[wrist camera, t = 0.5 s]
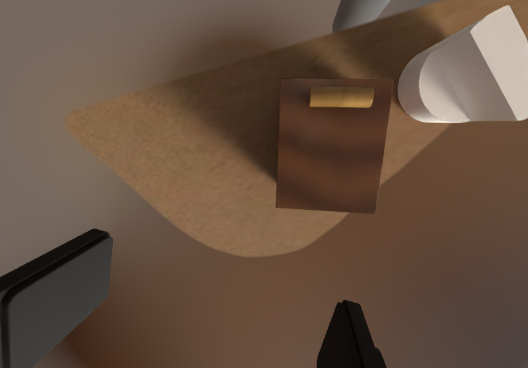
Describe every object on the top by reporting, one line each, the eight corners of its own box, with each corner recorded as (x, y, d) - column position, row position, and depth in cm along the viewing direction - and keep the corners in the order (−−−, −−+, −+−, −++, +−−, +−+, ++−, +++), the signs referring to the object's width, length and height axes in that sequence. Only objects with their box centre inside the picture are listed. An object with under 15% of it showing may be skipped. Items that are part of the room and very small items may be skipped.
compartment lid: (281, 79, 26) (277, 69, 21) (391, 80, 25) (415, 69, 20) (276, 205, 29) (271, 223, 24) (373, 211, 28) (390, 231, 23)
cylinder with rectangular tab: (489, 93, 31) (600, 78, 20) (419, 136, 34) (483, 144, 22) (453, 29, 30) (549, -28, 19) (383, 77, 32) (431, 53, 21)
